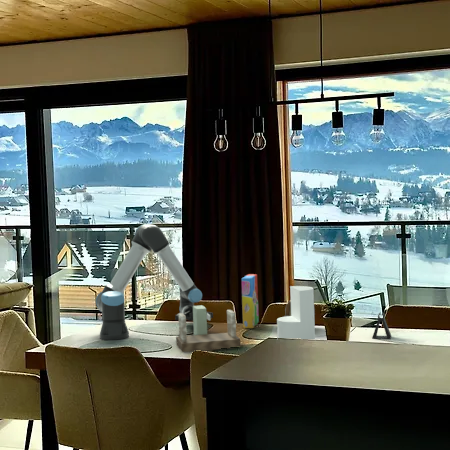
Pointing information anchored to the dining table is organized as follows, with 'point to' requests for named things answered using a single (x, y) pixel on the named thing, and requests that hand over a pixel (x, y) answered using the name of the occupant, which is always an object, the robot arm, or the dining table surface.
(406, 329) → the dining table surface
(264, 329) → the dining table surface
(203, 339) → the marble base with posts
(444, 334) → the dining table surface
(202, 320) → the book
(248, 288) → the game box
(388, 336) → the phone stand
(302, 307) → the white l-shaped block
